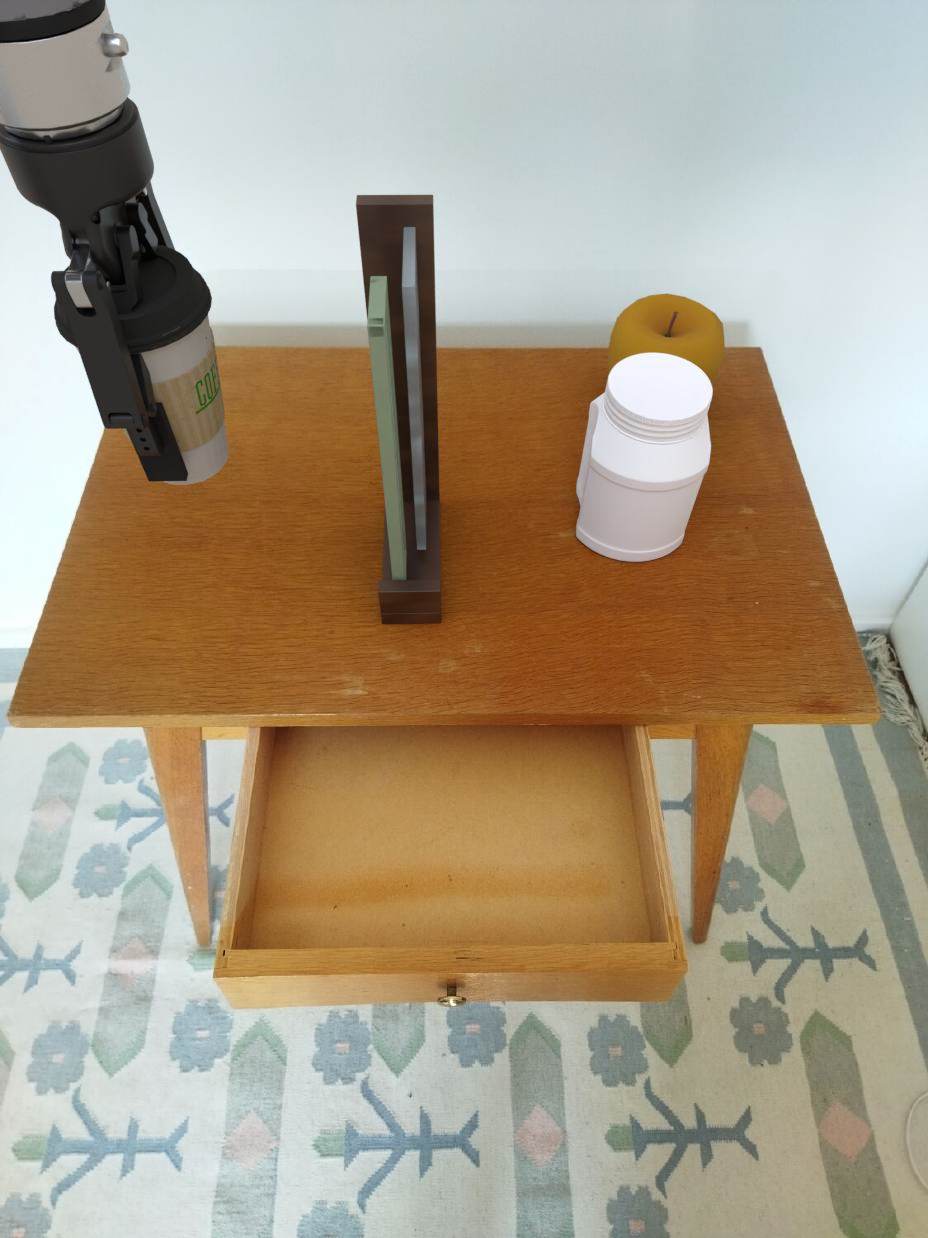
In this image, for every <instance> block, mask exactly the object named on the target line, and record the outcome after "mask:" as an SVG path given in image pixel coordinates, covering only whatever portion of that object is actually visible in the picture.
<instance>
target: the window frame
mask: <svg viewBox="0 0 928 1238" xmlns="http://www.w3.org/2000/svg"><path fill="white" fill-rule="evenodd" d="M434 208H435V207H434V194H356V199H355V209H356V221H357V229H358V241H359V249H360V261H361V271H362V279H363V280H362V281H363V290H364V292H363V293H364V302H365V311H366V321H367V322H368V307H369V292H370V277H371V276H387V285H388V300H389V313H390V327H391V341H392V354H393V368H394V382H395V395H396V409H397V423H398V436H399V450H400V464H401V477H402V491H403V505H404V518H405V532H406V546H407V562H406V580H393V579H392V569H391V559H390V549H389V539H388V529H387V519H386V509H385V508H384V519H383V520H384V521H383V545H382V548H383V549H382V550H383V551H382V569H381V571H382V572H381V580H378V586H377V595H378V596H377V597H378V603H379V610H380V612H379V613H380V619H381V624H382V625H412V624H413V625H414V624H416V625H418V624H419V625H421V624H423V625H424V624H425V625H426V624H442V575H441V574H442V572H441V570H442V568H441V499H440V497H441V496H440V454H439V453H440V452H439V447H440V446H439V445H440V444H439V407H438V406H439V405H438V404H439V403H438V399H439V398H438V358H437V352H438V351H437V307H436V305H437V304H436V261H435V217H434V216H435V215H434V213H435V212H434V211H435V210H434Z"/></svg>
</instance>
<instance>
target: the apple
mask: <svg viewBox="0 0 928 1238" xmlns="http://www.w3.org/2000/svg"><path fill="white" fill-rule="evenodd" d="M724 331H725V330H724V324H723V322H722V320H721V319H720V318H719V316H718V315H717V313H715V312H714V311H713V310H711V309H709V308H708V307H707V306H705V305H703V304H702V303H701V302H699V301H696V300H694V299H692V298H689V297H686V296H683V295H677V294H672V293H658V294H657V293H656V294H650V295H647V296H644V297H640V298H638V299H636V300H635V301H634V302H632V303H631V304H630V305H628V306H627V307H626V308H624V309H623V310H622V311H621V312H620V313H619V315H618V316H617V318H616V320H615V322H614V325H613V328H612V331H611V334H610V338H609V342H608V343H609V344H608V349H607V370H608V371H607V372H608V374H609V373H610V371H611V370H612V368H613V367H614V366H615V365H616V364H617V363H618V362H620V361H621V360H623V359H625V358H627V357H630V356H633V355H636V354H641V353H665V354H670V355H674V356H678V357H680V358H683V359H685V360H688V361H689V362H691V363H693V364H695V365H696V366H697V367H699V368H700V369H701V370H702V371H703V372H704V373H705V374H706V375H707V377H708V378H709V380H710V382H711V385H712V388H714V385H715V383H716V381H717V379H718V376H719V373H720V371H721V368H722V366H723V362H724V358H725V353H726V350H725V349H726V348H725V347H726V346H725V332H724Z"/></svg>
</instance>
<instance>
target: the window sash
mask: <svg viewBox="0 0 928 1238" xmlns="http://www.w3.org/2000/svg"><path fill="white" fill-rule="evenodd" d="M366 327H367V328H366V329H367V338H368V347H369V356H370V366H371V378H372V389H373V399H374V408H375V418H376V427H377V428H376V429H377V438H378V447H379V457H380V468H381V477H382V488H383V497H384V510H385V509H386V519H387V529H388V539H389V549H390V559H391V569H392V579H393V580H406V562H407V546H406V532H405V518H404V505H403V491H402V477H401V464H400V450H399V436H398V423H397V409H396V395H395V382H394V368H393V354H392V341H391V327H390V313H389V300H388V285H387V276H371V277H370V292H369V307H368V322H367V324H366Z"/></svg>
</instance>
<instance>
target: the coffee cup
mask: <svg viewBox="0 0 928 1238" xmlns="http://www.w3.org/2000/svg"><path fill="white" fill-rule="evenodd" d="M138 268H139V274H140V279H141V284H142V290H143V300H142V301H141V302H140V303H139V304H138V307H136V308H134V310H133V312H132V314H118V315H119V318H120V322H121V325H122V329H123V332H124V336H125V339H126V343H127V346H128V350H129V353H130V354H137V353H141V354H142V356H143V359H144V361H145V363H146V366H147V368H148V370H149V372H150V377H151V382H152V388H153V393H154V398H155V403H157V402H162V404H163V406H164V409H165V412H166V414H167V417H168V420H169V423H170V425H171V428H172V431H173V433H174V436H175V439H176V441H177V444H178V447H179V450H180V452H181V455H182V458H183V460H184V463H185V466H186V469H187V471H188V477H187V481H162V482H163V483H165V484H170V485H175V486H187V485H194V484H198V483H200V482H204V481H206V480H208V479H210V478H212V477H213V476H215V475H216V474H218V473H219V472H220V471H221V470H222V469H223V468H224V467H225V465H226V463H227V462H228V458H229V452H230V449H229V443H228V437H227V429H226V425H225V416H226V411H225V405H224V404H225V403H224V398H223V391H222V384H221V383H222V382H221V377H220V370H219V363H218V357H217V348H216V342H215V336H214V331H213V329H212V328H211V325H210V319H209V313H210V310H211V308H212V302H213V301H212V300H213V297H212V292H211V289H210V287H209V286H208V283H207V282H206V280H205V278H204V277H203V276H202V274H201V273H200V272H199V271H198V270H196V269H195V268H194V267H193V265H192V263H191V262H190V260H189V259H188V258H187V257H186V256H185V255H184V254H183V253H181V252H180V251H178V250H176V249H175V250H174V249H172V248H169V247H166V246H162V245H157V258H156V259H155V260H153V261H140V263H139V264H138ZM68 269H69V265H68V266H67V267H66V268H65V269H64V270H63V271H68ZM111 290H127V286H126V284H124V285H111ZM54 294H55V293H54ZM54 296H55V302H54V305H53V315H54V316H53V317H54V320H55V327H56V328H57V330H58V331H57V332H58V333H59V335H60V336H62V338H63V339H64V340H65V341H66V342H67V343H69V344H70V345H72V346H74V348H75V349H76V351H77V352H78V354H79V355H80V353H79V350H78V347H77V344H76V341H75V338H74V335H73V332H72V329H71V326H70V323H69V320H68V317H67V314H66V312H65V310H64V309H63V307H62V305H61V303H60V301H59V299H58V297H57V295H56V294H55V295H54ZM122 431H123V433H124V434H125V436H126V438H127V439H128V440H129V442H130V443H132V441H131V439H130V437H129V434H128V432H127V430H126V429H122Z"/></svg>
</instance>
